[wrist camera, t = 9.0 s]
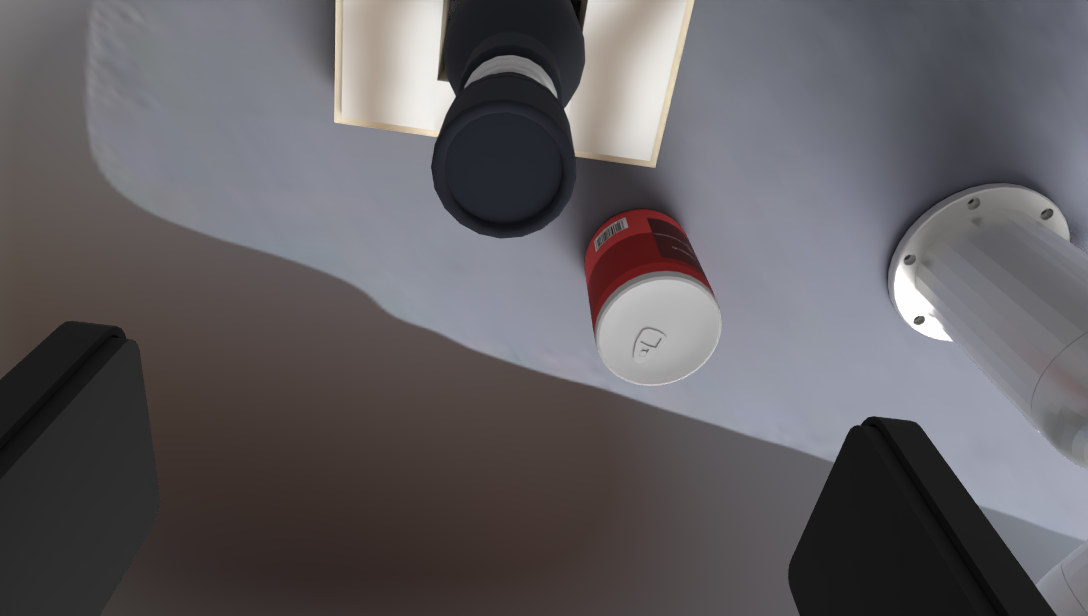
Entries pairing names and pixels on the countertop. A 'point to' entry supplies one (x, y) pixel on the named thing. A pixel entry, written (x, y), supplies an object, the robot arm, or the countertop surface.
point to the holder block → (593, 112)
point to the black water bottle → (509, 114)
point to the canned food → (649, 299)
